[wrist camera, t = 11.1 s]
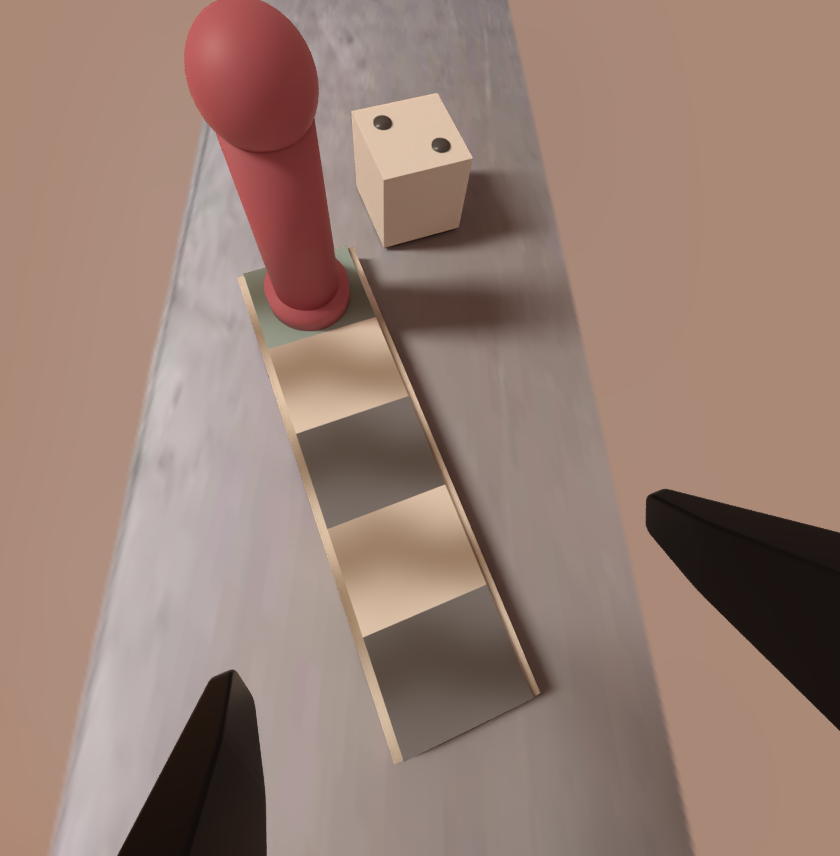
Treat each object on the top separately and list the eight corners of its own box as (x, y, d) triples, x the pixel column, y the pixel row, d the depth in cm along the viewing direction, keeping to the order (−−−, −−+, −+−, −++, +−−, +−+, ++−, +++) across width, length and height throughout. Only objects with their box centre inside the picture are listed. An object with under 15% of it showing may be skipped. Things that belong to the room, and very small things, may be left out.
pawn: (360, 317, 26) (336, 46, 13) (282, 341, 25) (171, 76, 12) (335, 254, 27) (290, -52, 14) (259, 275, 26) (137, -29, 13)
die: (458, 227, 29) (473, 157, 25) (383, 247, 28) (383, 178, 24) (428, 168, 31) (436, 90, 26) (356, 185, 30) (350, 109, 25)
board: (534, 689, 21) (542, 694, 20) (393, 757, 20) (394, 766, 19) (354, 256, 28) (352, 244, 27) (241, 286, 27) (236, 275, 26)
